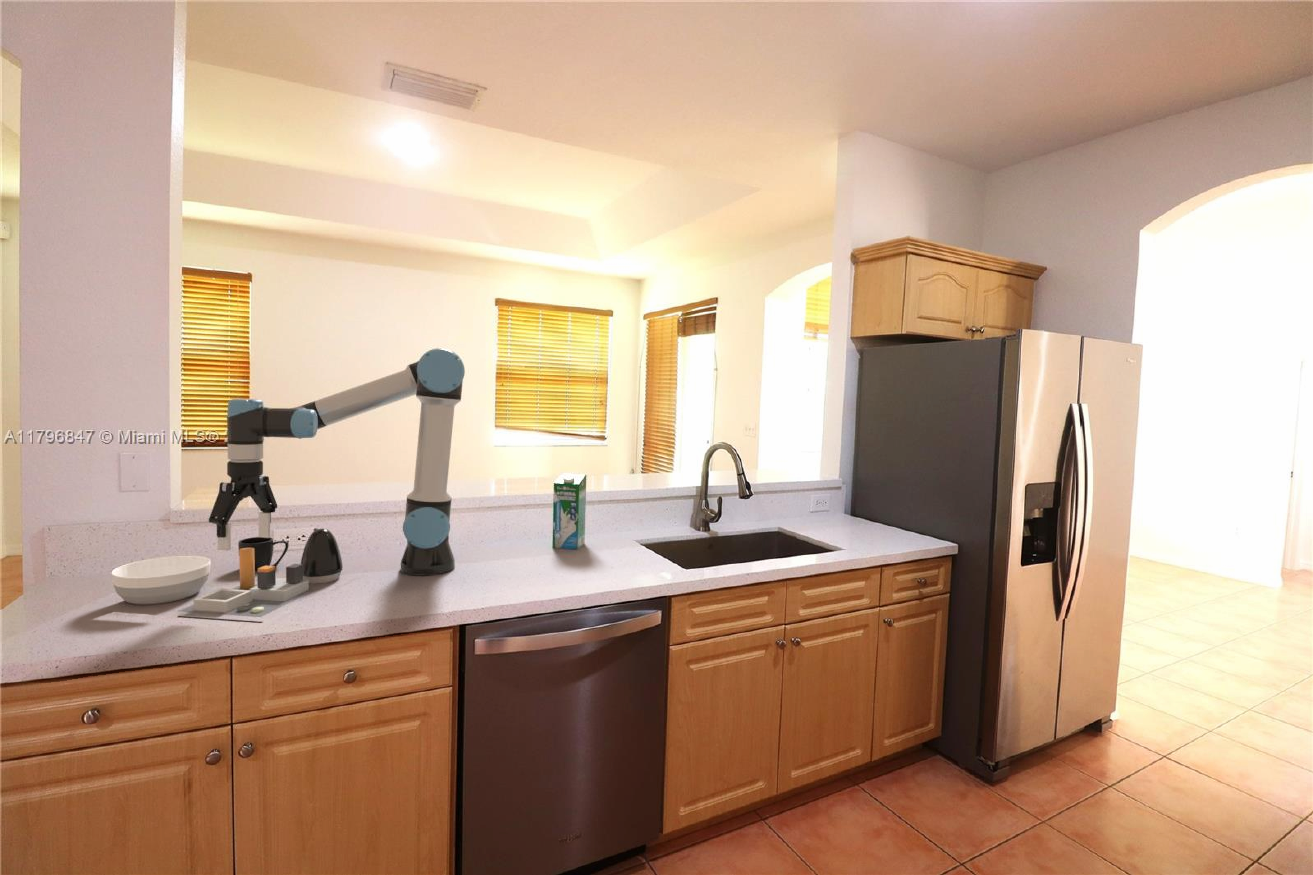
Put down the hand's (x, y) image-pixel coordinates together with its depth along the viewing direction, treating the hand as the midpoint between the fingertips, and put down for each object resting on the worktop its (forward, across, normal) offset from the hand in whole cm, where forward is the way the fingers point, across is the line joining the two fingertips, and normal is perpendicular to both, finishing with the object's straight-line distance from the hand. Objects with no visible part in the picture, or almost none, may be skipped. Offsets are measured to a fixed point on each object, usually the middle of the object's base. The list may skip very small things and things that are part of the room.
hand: (245, 543), depth 157 cm
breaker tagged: (+9, +6, +10) cm, 15 cm away
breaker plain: (+8, +1, +14) cm, 16 cm away
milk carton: (+12, -65, +69) cm, 96 cm away
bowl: (+14, +8, -14) cm, 21 cm away
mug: (+13, -17, -8) cm, 23 cm away
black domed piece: (+13, -11, +14) cm, 22 cm away
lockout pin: (+12, 0, 0) cm, 12 cm away
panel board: (+13, +7, +8) cm, 17 cm away
